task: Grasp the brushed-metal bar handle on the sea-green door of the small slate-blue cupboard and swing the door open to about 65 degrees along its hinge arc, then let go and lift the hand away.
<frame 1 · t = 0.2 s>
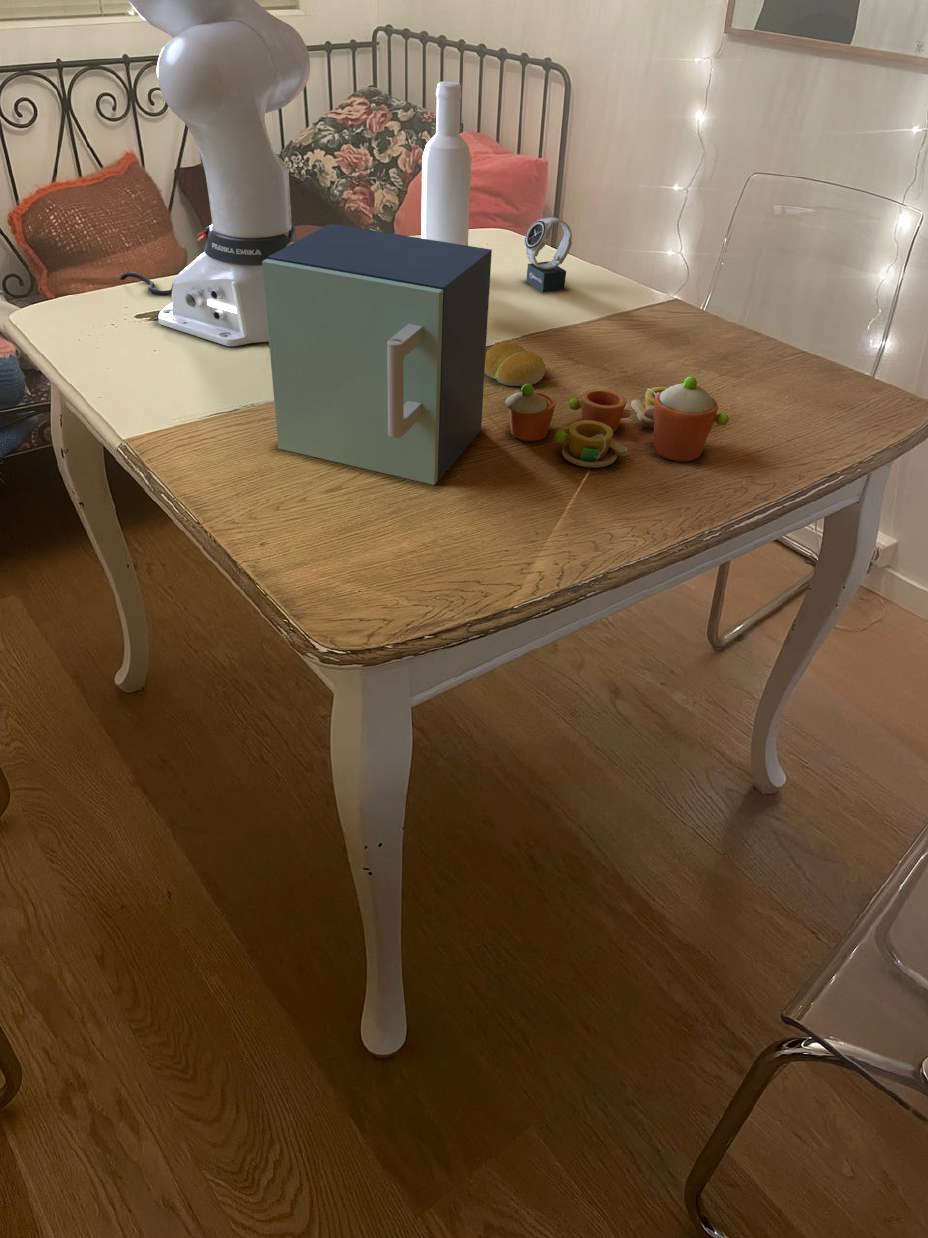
toy tea set: (609, 442, 117), on the table
cupboard door: (341, 385, 100), point 11 cm above the table, hinge at 0.0°
bottle: (443, 284, 160), on the table
cupboard: (384, 437, 115), on the table
watch: (544, 286, 161), on the table
bread roll: (512, 376, 131), on the table
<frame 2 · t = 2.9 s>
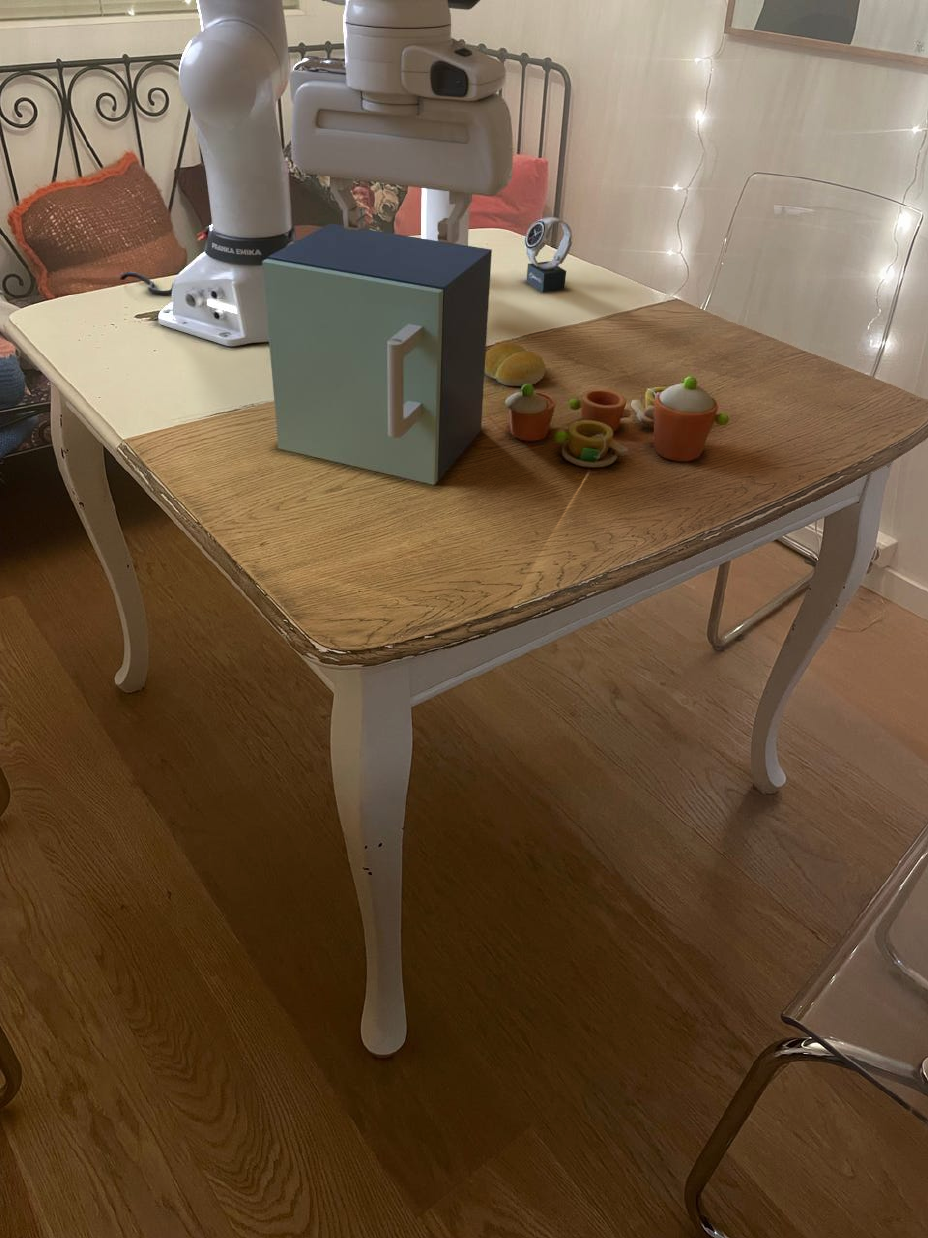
hand: (401, 234, 87), 28 cm above the table, tool pointing down, fingers open, 8 cm apart
nothing on the table moved.
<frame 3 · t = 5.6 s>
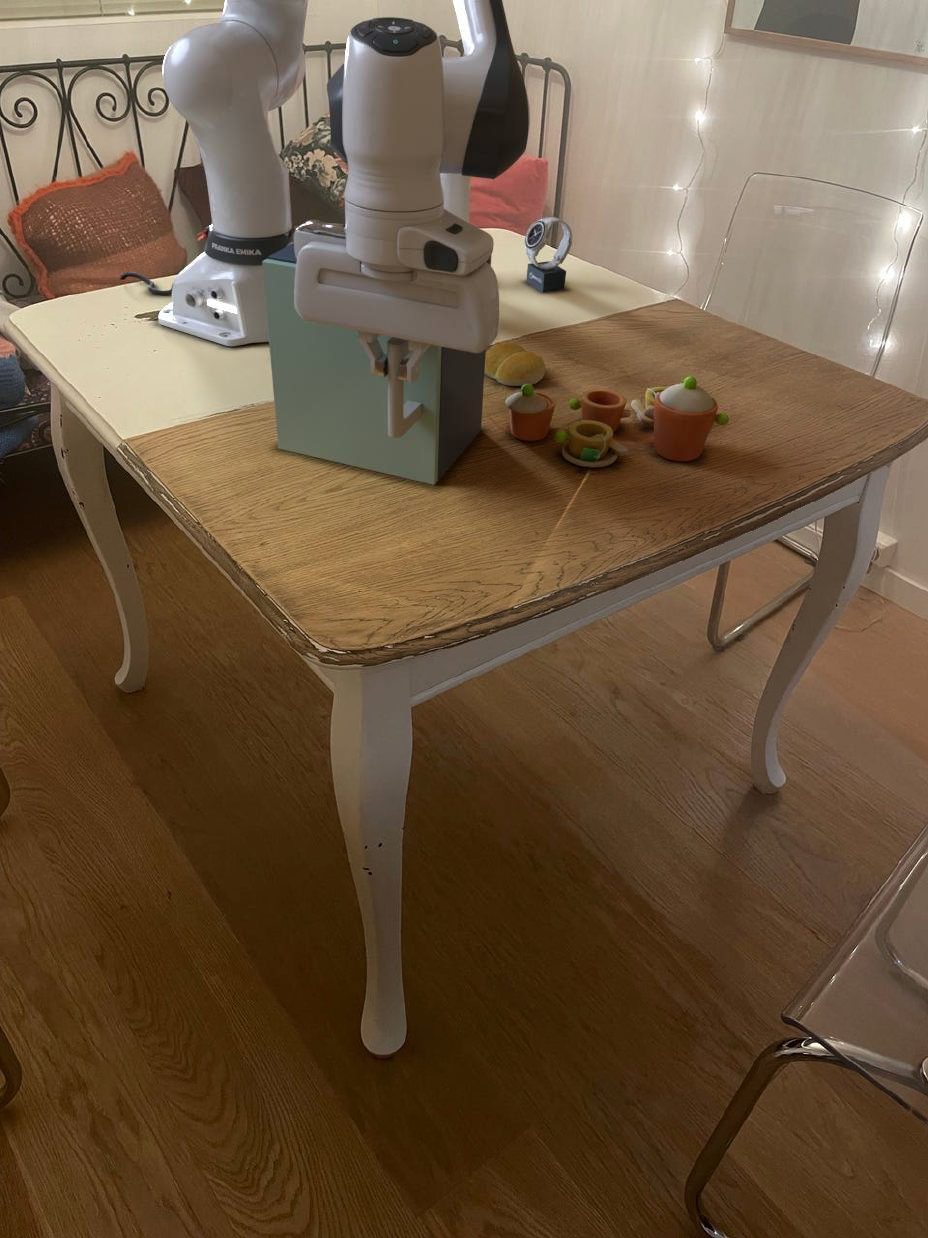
hand: (394, 376, 94), 15 cm above the table, tool pointing down, fingers closed on cupboard door, 2 cm apart
cupboard door: (341, 385, 100), point 11 cm above the table, hinge at 0.0°, touching gripper
everything else where it was.
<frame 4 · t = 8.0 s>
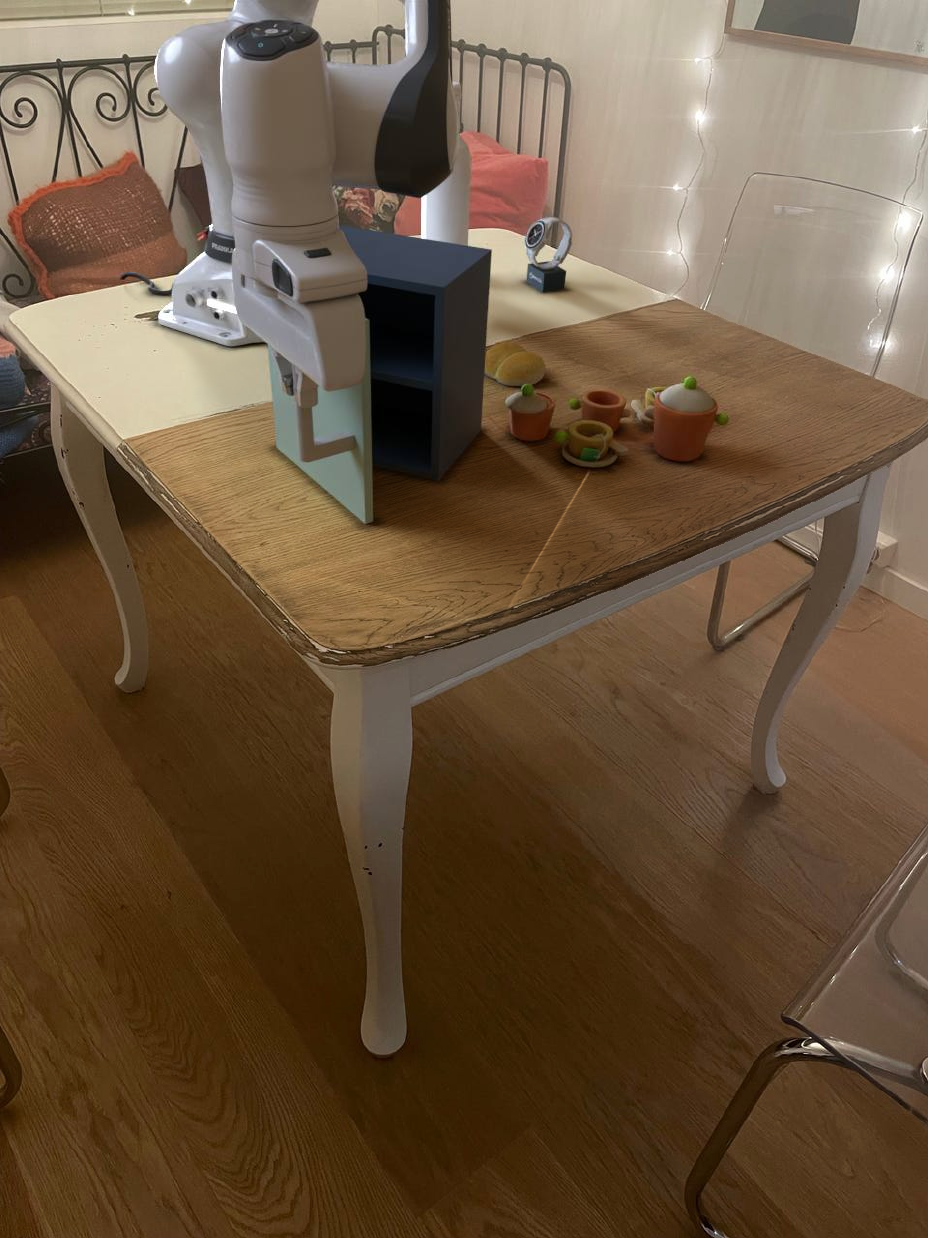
hand: (299, 398, 89), 15 cm above the table, tool pointing down, fingers closed on cupboard door, 2 cm apart
cupboard door: (292, 398, 97), point 11 cm above the table, hinge at 32.6°, touching gripper
everything else where it was.
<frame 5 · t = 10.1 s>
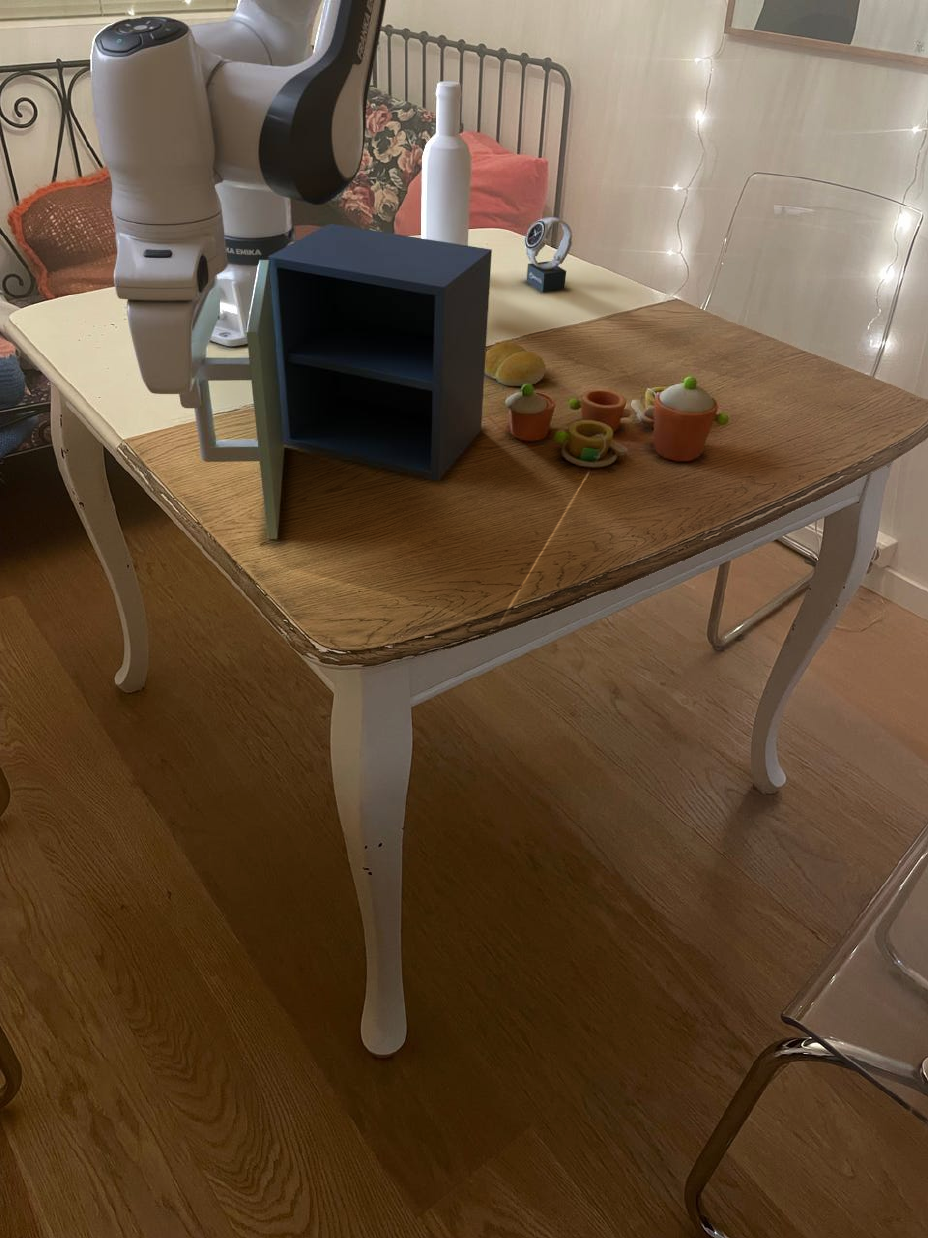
hand: (195, 398, 88), 14 cm above the table, tool pointing down, fingers closed on cupboard door, 2 cm apart
cupboard door: (239, 398, 97), point 11 cm above the table, hinge at 62.4°, touching gripper
everything else where it was.
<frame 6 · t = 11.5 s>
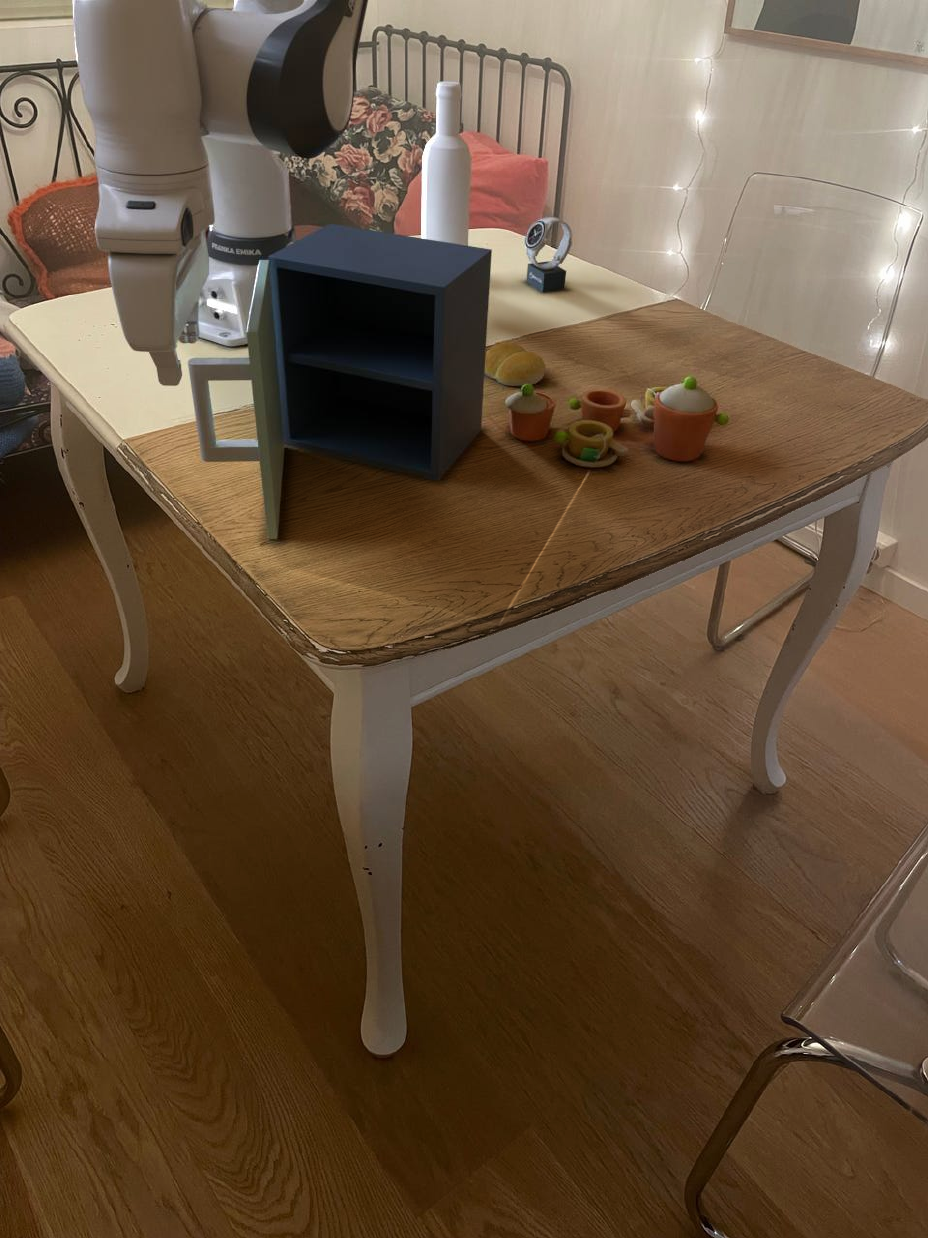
hand: (180, 360, 86), 18 cm above the table, tool pointing down, fingers open, 8 cm apart
cupboard door: (239, 398, 97), point 11 cm above the table, hinge at 62.4°
everything else where it was.
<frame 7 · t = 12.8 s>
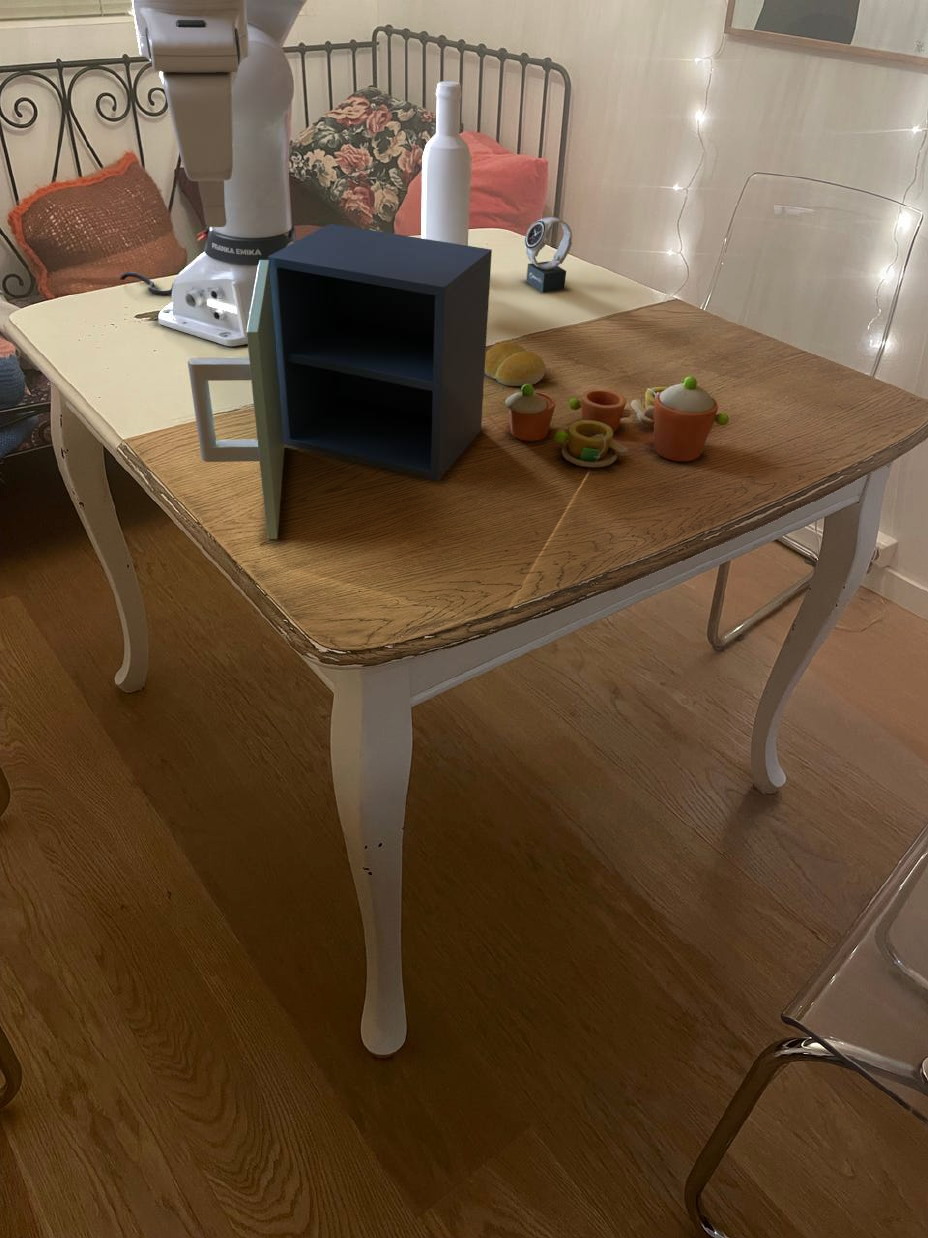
hand: (215, 209, 85), 29 cm above the table, tool pointing down, fingers open, 8 cm apart
nothing on the table moved.
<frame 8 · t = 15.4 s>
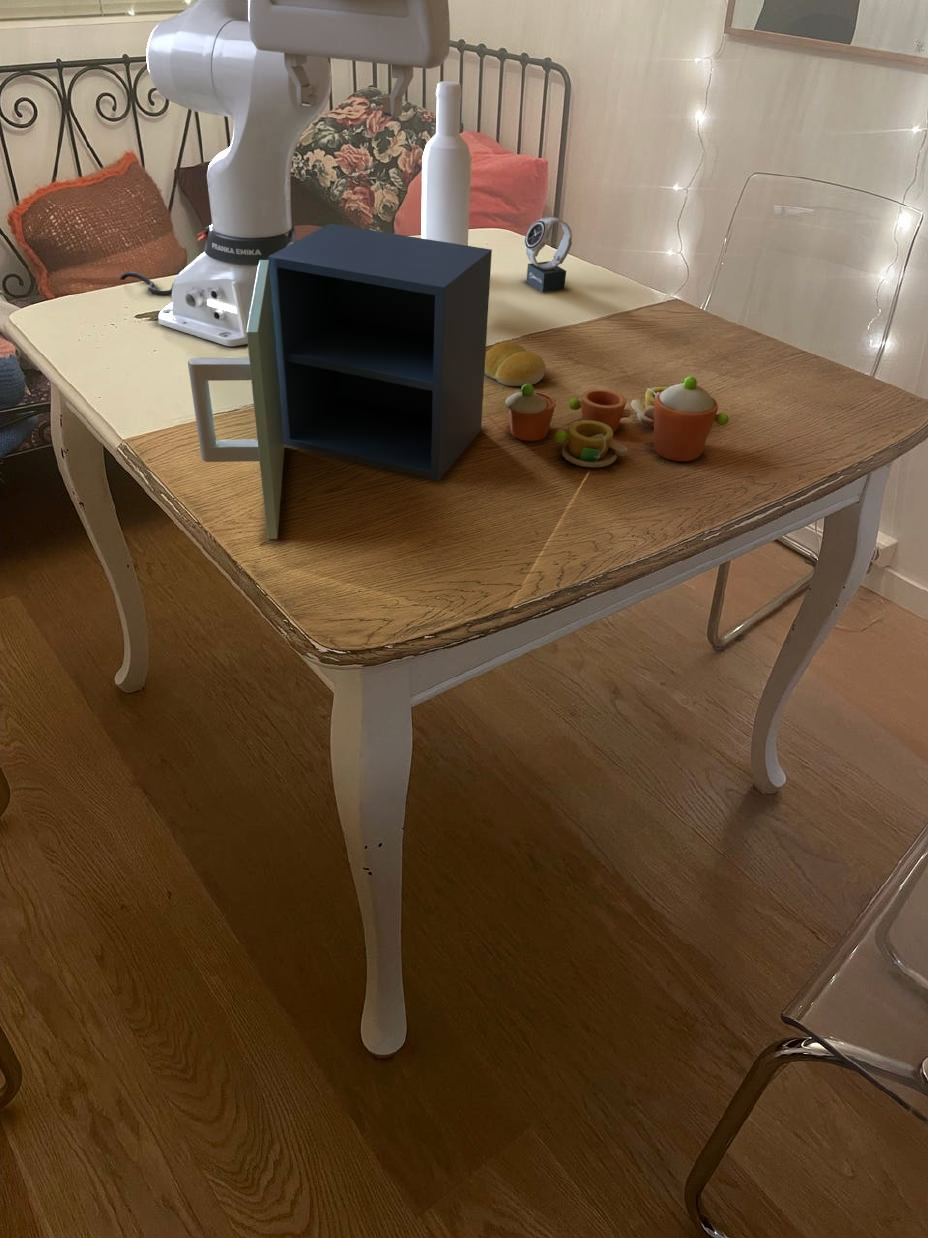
hand: (349, 110, 95), 35 cm above the table, tool pointing down, fingers open, 8 cm apart
nothing on the table moved.
at the end: cupboard door at +62° (first picture: +0°) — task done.
